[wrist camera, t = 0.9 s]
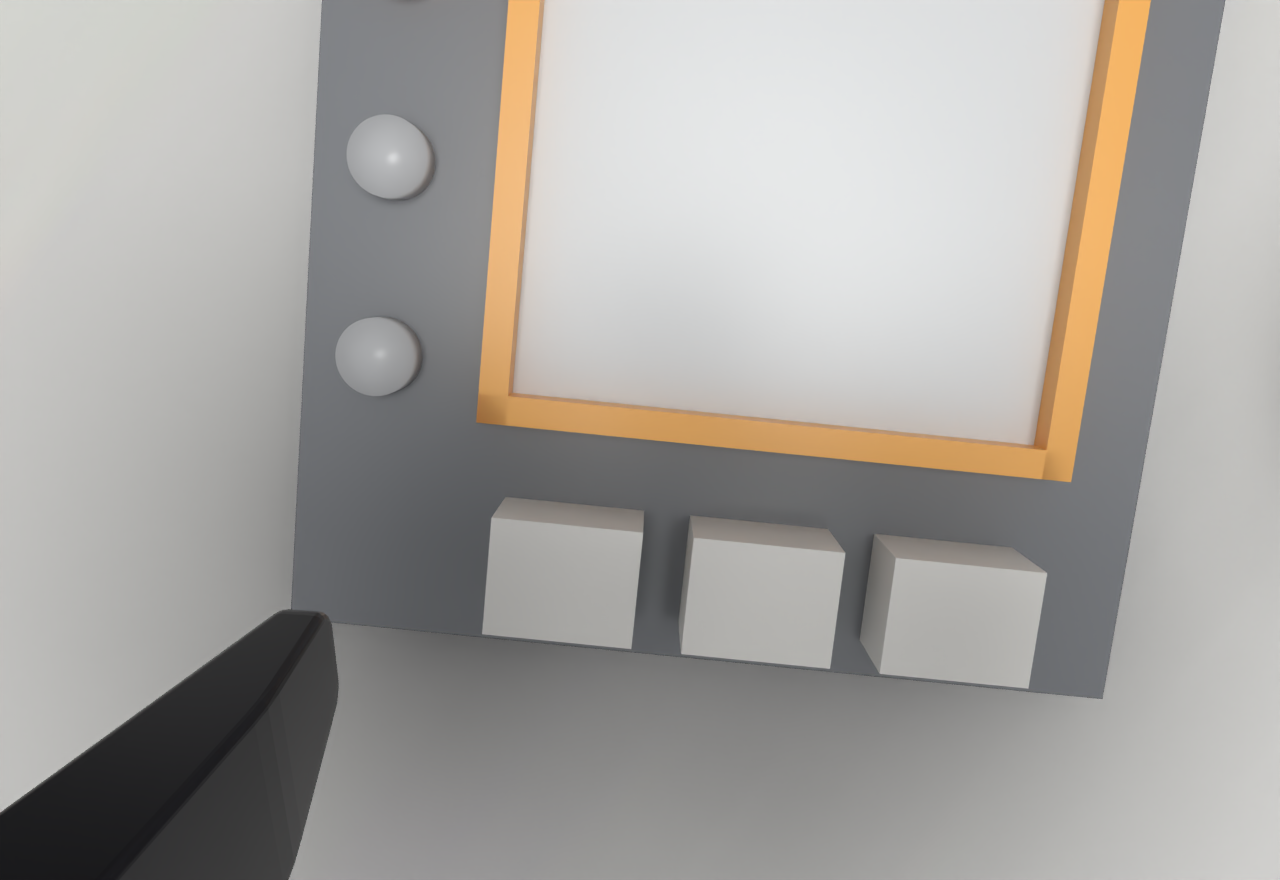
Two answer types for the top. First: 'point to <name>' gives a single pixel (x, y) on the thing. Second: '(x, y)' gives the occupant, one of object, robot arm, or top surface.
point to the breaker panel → (745, 324)
